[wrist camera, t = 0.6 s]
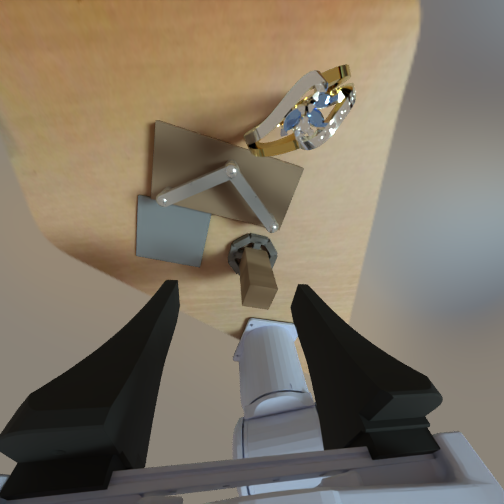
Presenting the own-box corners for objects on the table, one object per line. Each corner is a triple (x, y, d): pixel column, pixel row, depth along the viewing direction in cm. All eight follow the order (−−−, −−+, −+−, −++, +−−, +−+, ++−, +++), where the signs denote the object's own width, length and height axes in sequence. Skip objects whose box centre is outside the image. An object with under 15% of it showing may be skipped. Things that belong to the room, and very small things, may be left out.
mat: (200, 265, 23) (199, 267, 23) (137, 254, 22) (136, 255, 22) (211, 212, 20) (211, 213, 20) (139, 194, 19) (138, 195, 18)
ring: (250, 156, 18) (263, 177, 11) (233, 116, 16) (236, 111, 10) (328, 117, 17) (393, 113, 10) (318, 69, 15) (389, 27, 9)
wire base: (277, 225, 22) (279, 230, 21) (154, 195, 19) (150, 199, 18) (300, 166, 19) (303, 168, 18) (159, 120, 16) (155, 120, 15)
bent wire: (270, 219, 21) (277, 236, 18) (165, 193, 19) (153, 207, 16) (287, 173, 19) (298, 183, 16) (171, 137, 17) (157, 140, 14)
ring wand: (266, 276, 25) (277, 321, 19) (224, 268, 24) (222, 314, 18) (281, 240, 23) (299, 279, 17) (235, 229, 21) (238, 267, 16)
